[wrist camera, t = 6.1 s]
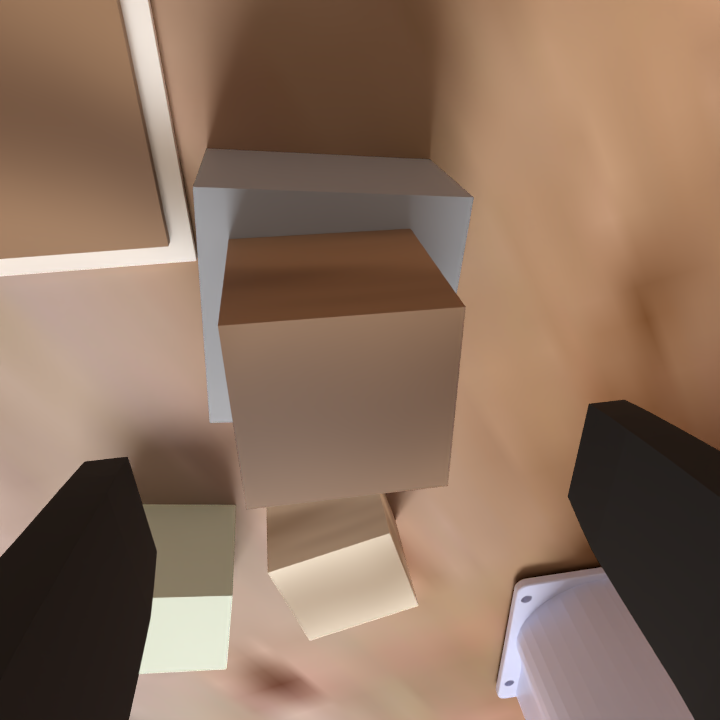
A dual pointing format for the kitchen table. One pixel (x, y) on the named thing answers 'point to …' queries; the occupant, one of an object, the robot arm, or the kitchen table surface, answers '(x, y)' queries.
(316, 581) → the birch cube
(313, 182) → the slate base
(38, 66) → the swatch
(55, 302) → the kitchen table surface
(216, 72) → the kitchen table surface
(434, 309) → the walnut cube
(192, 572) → the sage cube
